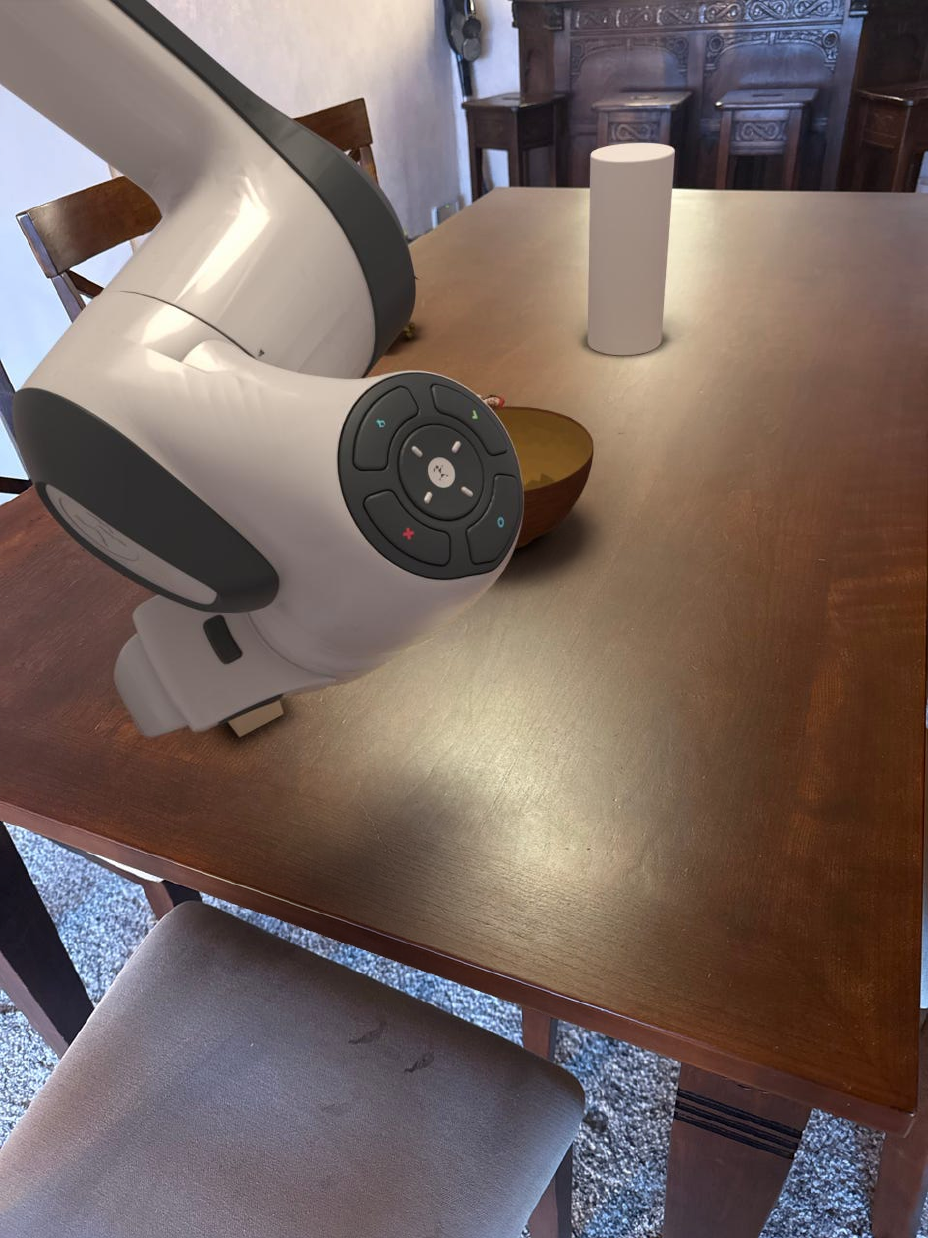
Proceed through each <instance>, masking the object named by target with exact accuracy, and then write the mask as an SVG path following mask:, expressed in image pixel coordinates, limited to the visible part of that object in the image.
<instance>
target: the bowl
mask: <svg viewBox="0 0 928 1238" xmlns="http://www.w3.org/2000/svg"><path fill="white" fill-rule="evenodd" d="M491 409H492V410H493V411H494V413H495V414H496V415H497V416H498V418H499V419H500V421H501V422H502V424H503V425H504V427H505V429H506V431H507V433H508V434H509V437H510V439H511V441H512V443H513V446H514V448H515V451H516V454H517V457H518V461H519V465H520V470H521V475H522V481H523V490H524V511H523V519H522V525H521V529H520V533H519V537H518V540H517V543H516V546H515V548H514V550H515V549H520V548H521V547H524V546H526V545H528V544H529V543H530V542H532V541H533V540H534V539H537V538H539V537H542V536H543V535H545V534H546V533H548V532H550V531H552V530H553V529H554V528H555V527H557V526H558V525H559V524H560V523H561V522H563V520H565V518H566V517H567V516H568V514H569V513H570V512H571V510H572V509H573V508H574V506H575V505H576V503H577V502H578V500H579V499H580V498H581V495H582V493H583V492H584V489H585V487H586V485H587V483H588V480H589V477H590V474H591V469H592V466H593V460H594V454H595V453H594V449H595V448H594V440H593V437H592V435H591V433H590V432H589V431H588V429H587V428H586V427H585V426H584V425H583V424H581V423H580V422H578V421H577V420H575V419H574V418H572V417H570V416H567V415H566V414H562V413H559V412H556V411H554V410H553V411H552V410H547V409H544V408H543V409H542V408H538V407H531V406H515V405H514V406H502V407H493V408H491Z"/></svg>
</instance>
